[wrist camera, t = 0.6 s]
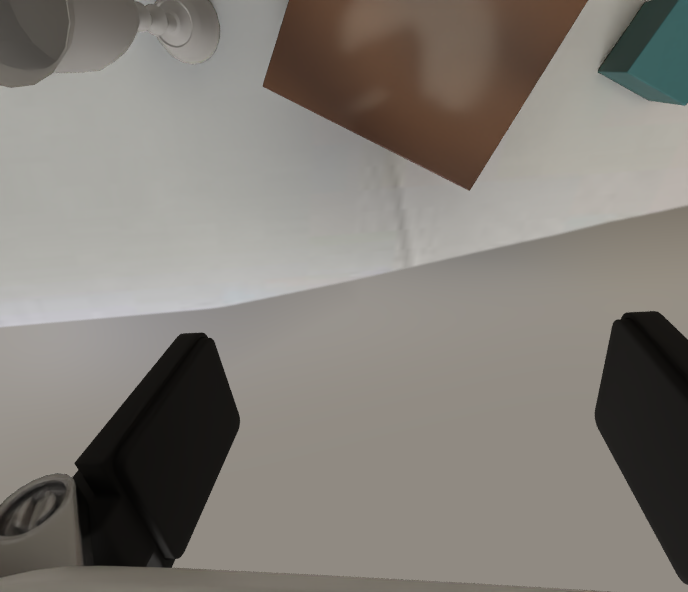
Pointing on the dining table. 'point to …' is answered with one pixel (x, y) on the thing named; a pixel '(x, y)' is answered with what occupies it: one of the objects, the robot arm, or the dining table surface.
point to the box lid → (420, 71)
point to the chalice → (96, 34)
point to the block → (653, 53)
